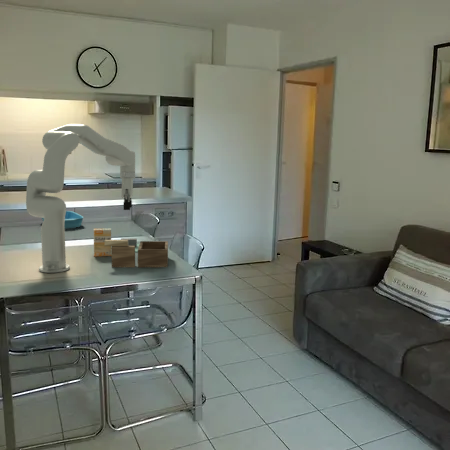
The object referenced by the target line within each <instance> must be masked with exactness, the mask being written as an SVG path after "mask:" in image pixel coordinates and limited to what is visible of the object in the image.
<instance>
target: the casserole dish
mask: <svg viewBox="0 0 450 450" xmlns="http://www.w3.org/2000/svg"><path fill="white" fill-rule="evenodd" d="M41 220H42V222H43V221H44V218H41ZM83 220H84V216H83V215H81V214H79V213H77V212H76V211H75V212H74V211H72V210H66V214H65V222H64V230H66V229H76V227H78V228H79V227H81V226H82V223H83Z"/></svg>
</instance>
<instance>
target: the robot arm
mask: <svg viewBox="0 0 450 450" xmlns="http://www.w3.org/2000/svg"><path fill="white" fill-rule="evenodd" d="M79 144H81V145H82V146H83V147H85V148H87V149H88V150H90V151H91V152H93V154H96V155H98V156H99V155H100V156H104V158H105V161H106V163H107V164H108V165H111V166H115V167H117V166H118V167H119V174H120V175H119V179H121V198H123V211H131V209H132V208H133V207H132V203H133V201H132V197H133V192H134V191H133V189H134V188H133V187H134V186H133V185H134V179H136V153H135V151H133V150H130V149H129V148H127V146H124V145H123V144H121V143H118V142H117V141H114V140H111V139H109V138H106V137H104V136H103V135H101V134H100V133H99V132H97V131H96V130H94V129H93V128H92V127H90V126H89V125H87V124H81V123H69V124H68V123H67V124H65V125H63V126H59V127H57V128H53V129H50V130H48V131H47V132H45V133H44V135H43V136H42V145H43V147H44V148H45V149H46V151H45V154H44V156H43V164H42V165H43V166H42V169H35V170H33V171H31V173H30V174H29V175H28V177H27V179H26V193H25V195H26V196H25V199H26V200H25V207H26V211H27V213H28V214H29V215H30V216H32V217H34V218H41V219H42V218H44V221H43V220H42V224H41V226H40V227H41V228H40V236H41V237H40V239H41V260H42V265H40V266H38V271H39V272H41V273H48V274H49V273H50V274H55V273H62V272H67V271H68V270H70V267H71V266H70V264H68V263H67V259H66V257H67V256H66V255H67V254H66V233H65V232H66V231H65V230H66V229H64V222H65V214H66V211H67V205H66V202H65V200H63V199H62V198H61V197H58V196H52V195H46V194H47V193H48V194H57V193H60V192H61V191H62V190H63V188H64V186H65V185H64V183H65V169H66V167H65V166H66V160H67V158H68V156H69V155H70V154H71V153H72V152H73V151H75V150H76V149H77V148H78V146H79Z"/></svg>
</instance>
